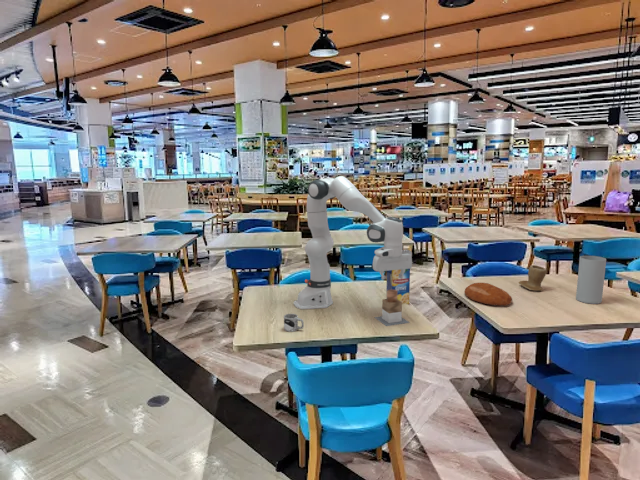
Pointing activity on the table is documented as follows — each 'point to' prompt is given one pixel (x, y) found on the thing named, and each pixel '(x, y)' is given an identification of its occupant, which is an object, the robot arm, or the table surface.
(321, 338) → the table surface
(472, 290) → the bread
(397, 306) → the tan wooden block
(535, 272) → the brown boot
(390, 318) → the grey tower block
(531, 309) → the table surface
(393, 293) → the brown rounded knob
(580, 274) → the cylinder vase
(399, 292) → the beverage box
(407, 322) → the blue-grey board
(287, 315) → the mug
